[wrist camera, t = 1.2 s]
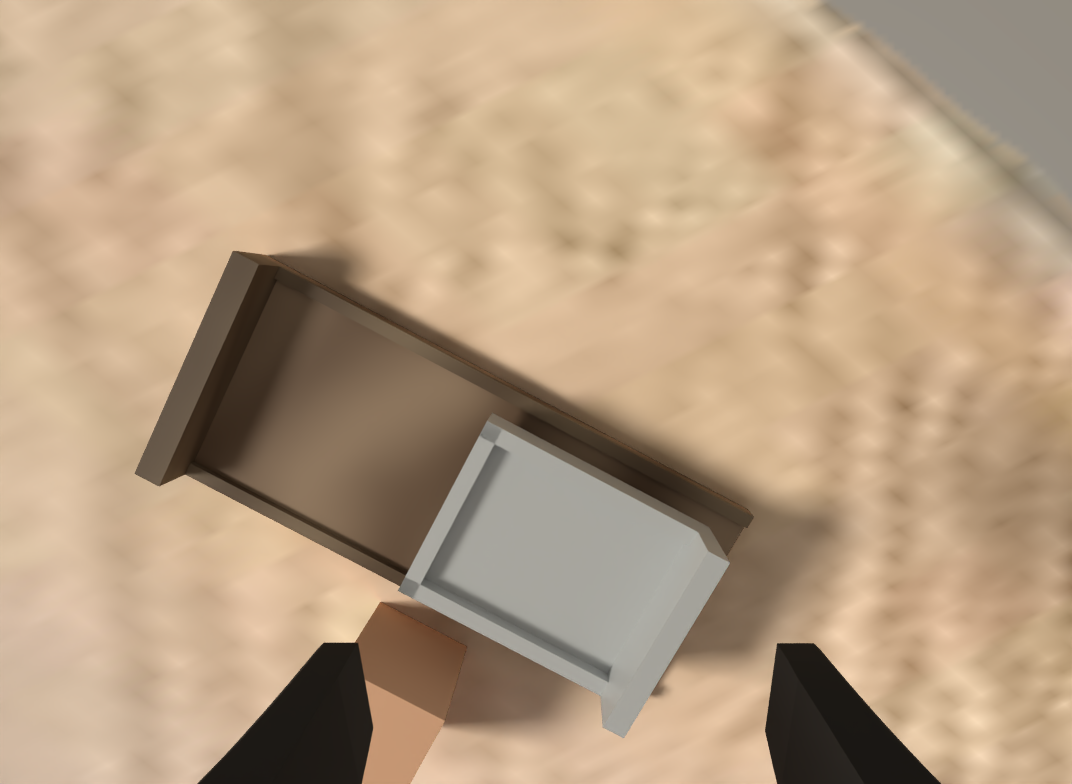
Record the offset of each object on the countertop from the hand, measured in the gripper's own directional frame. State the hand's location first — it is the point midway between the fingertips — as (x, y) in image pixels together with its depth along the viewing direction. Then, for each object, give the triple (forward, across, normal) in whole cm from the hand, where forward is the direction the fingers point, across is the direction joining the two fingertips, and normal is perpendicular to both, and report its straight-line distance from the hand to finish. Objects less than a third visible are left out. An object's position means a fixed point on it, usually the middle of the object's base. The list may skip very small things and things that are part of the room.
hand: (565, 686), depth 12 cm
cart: (+13, 0, +6) cm, 15 cm away
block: (+12, +7, +12) cm, 19 cm away
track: (+14, +4, +5) cm, 16 cm away
